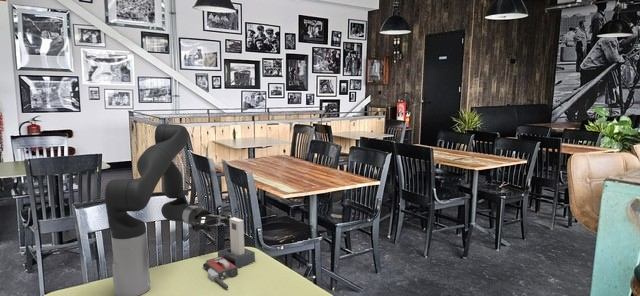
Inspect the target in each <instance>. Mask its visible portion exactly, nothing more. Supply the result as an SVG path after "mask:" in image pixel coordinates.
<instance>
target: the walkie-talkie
mask: <svg viewBox="0 0 640 296" xmlns="http://www.w3.org/2000/svg"><path fill="white" fill-rule="evenodd" d="M202 267H203V268H205V270H206V271H207V278H208V279H209V280H210V281H211V282H212V283H213V282H217V283H218V284H219V285H221V286H223V288H226V289H228V288H229V285H228V284H227V283H225V282H224V280H226V279H229V278H234V277H236V276H238V275H239V273H238V271H239V270H238V269H239V268H238V267H236V266H235V265H233V264H232V263H230V262H229V261H227V260H226V259H224V258H222V257H218V256H217V257H213V258H210V259H207V260H206V261H205V263H202Z"/></svg>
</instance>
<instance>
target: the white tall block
mask: <svg viewBox="0 0 640 296" xmlns="http://www.w3.org/2000/svg"><path fill="white" fill-rule="evenodd" d="M229 220H230V226H229V234H230V239H229V241H230V247H231V253H232V254H235V255H237V256H239V255H242V254H245V250H244V248H245V233H244V232H245V230H244V220H243V219H241V218H238V217H234V216H233V217H230V219H229Z"/></svg>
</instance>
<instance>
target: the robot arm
mask: <svg viewBox="0 0 640 296" xmlns="http://www.w3.org/2000/svg"><path fill="white" fill-rule="evenodd" d="M188 139H189V132H188V129H187V128H186V126H184V125H182V124H171V123H159V124H158V125H157V126H156V127H155V131H154V142H155V143H154V144H153V145H151V146H149V147H147V148H146V149H145V150H144V151H143V152H142V153H141V155H140V156H139V158H138V159H137V162H136V168H137V172H138V174H139V176H140V177H138V178H117V179H115V178H114V179H111V180H109V182H108V183H107V185H106V186H105V190H104V201H105V202H104V203H105V209H106V214H107V215H106V216H107V225H108V228H109V230H110V236H111V249H112V257H113V259H112V260H113V262H112V265H111V267H112V268H111V269H112V279H113V280H112V281H113V290H114V291H113V292H114V293H113V294H114V296H140V295H143V294H145V293H147V292H148V291H149V290H150V289H151V280H150V277H151V276H150V266H149V251H148V239H147V238H148V237H147V226H146V223H145V222H144V221H143V220H141V219H138V218H136V217H134V216H133V215H130V213H128V212H139V211H143V210H144V209H145V208H146V207H147V205H148V204H149V202H150V199H151V198H152V195H153V194H154V192H155V189H156V187H157V185H158V184H159V182H160V180H161V179H162V177H163V187H164V195H165V197H166V198H167V199H173V200H170V201H168V202H166V203H164V204H163V205H162V207H161V209H160V210H161V211H160V212H161V215H162V217H164V219H165V220H168V221H170V222H182V223H185V224H187V225H188V229H190V230H192V231H194V232H199V231H201V232H202V231H204V232H207V233H211V232H212V227H214V226H221V225H225V226H228V227H230V220H229V219H230V218H231V215H230V214H226V213H222V212H219V213H218V215H216V214H215V215H214V214H212V212H211V211H210V210H208V209H206V208H204V207H200V206H197V205H193V204H189V202H188V199H187V196H186V194H185V191H184V178H183V175H182V172H181V171H180V169H179V168H178V166H177V165H176V164H175V162H174V159H175V158H176V157H177V156H178V154H179V153H180V152H181V151H182V150H183V149H184V148H185V146H186V145H187V143H188Z"/></svg>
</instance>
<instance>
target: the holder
mask: <svg viewBox="0 0 640 296" xmlns="http://www.w3.org/2000/svg"><path fill="white" fill-rule="evenodd" d="M244 250H245V254H242V255H239V256H237V255H235V254H232V253H231V246H230V247H227V248H223V249H221V250H218V251H217V257H222V258H224V259H226V260H227V261H229V262H230V263H232V264H233V265H235V266H236V267H238V269H240V268H243V267H245V266H248V265H251V264H253V262H254V263H256V255H255V254H256V252H255V251H253V250H251V249H248V248H246V247H244ZM250 263H251V264H250Z"/></svg>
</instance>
